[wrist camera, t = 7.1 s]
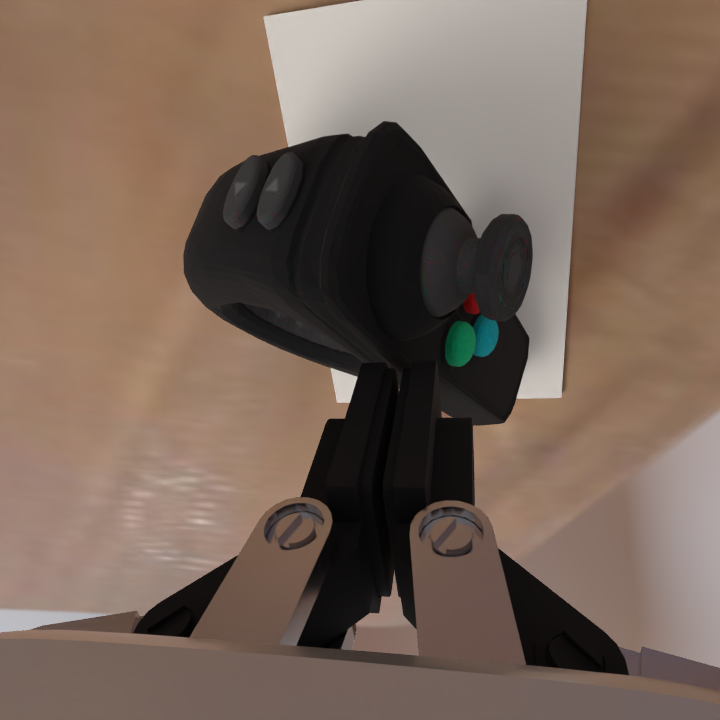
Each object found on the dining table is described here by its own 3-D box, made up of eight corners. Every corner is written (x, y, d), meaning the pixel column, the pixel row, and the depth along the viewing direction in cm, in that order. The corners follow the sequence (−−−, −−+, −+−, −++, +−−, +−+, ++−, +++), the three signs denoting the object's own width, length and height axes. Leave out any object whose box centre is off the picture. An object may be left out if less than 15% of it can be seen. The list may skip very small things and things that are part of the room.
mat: (266, 16, 17) (263, 16, 16) (587, -37, 15) (589, -38, 15) (338, 398, 24) (337, 402, 24) (560, 393, 22) (561, 397, 22)
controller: (136, 112, 14) (507, 66, 9) (365, 305, 24) (607, 342, 19) (67, 262, 14) (425, 315, 8) (332, 398, 24) (574, 465, 18)
